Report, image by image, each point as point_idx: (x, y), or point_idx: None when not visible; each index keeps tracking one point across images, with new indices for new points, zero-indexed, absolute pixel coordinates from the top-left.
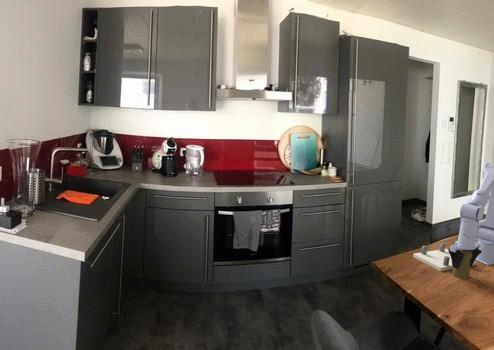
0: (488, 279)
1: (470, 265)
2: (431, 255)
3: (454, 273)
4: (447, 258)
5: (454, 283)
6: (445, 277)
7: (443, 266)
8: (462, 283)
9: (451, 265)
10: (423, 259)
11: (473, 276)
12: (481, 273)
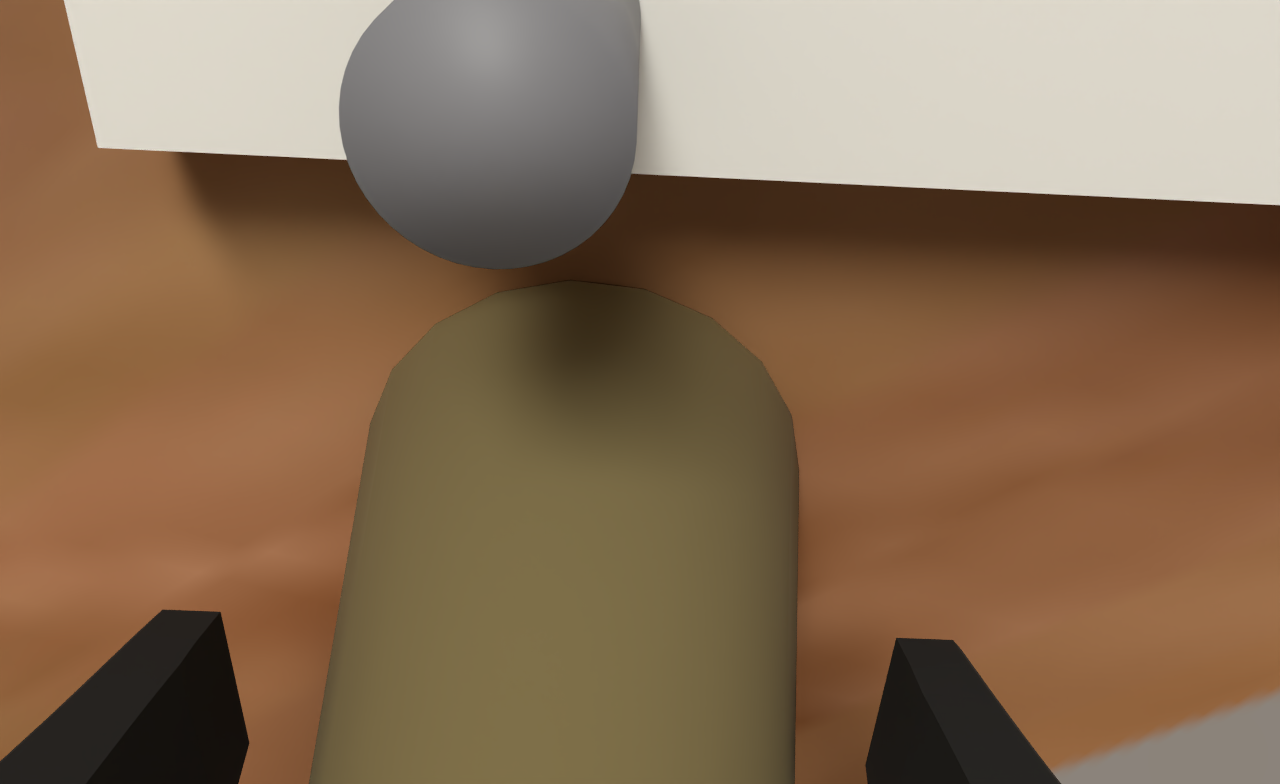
0: (1049, 759)
1: (875, 776)
2: None
3: (362, 473)
4: (412, 219)
5: (53, 651)
6: (32, 417)
7: (309, 92)
8: (256, 698)
9: (720, 145)
10: None
11: (874, 598)
12: (1273, 571)
